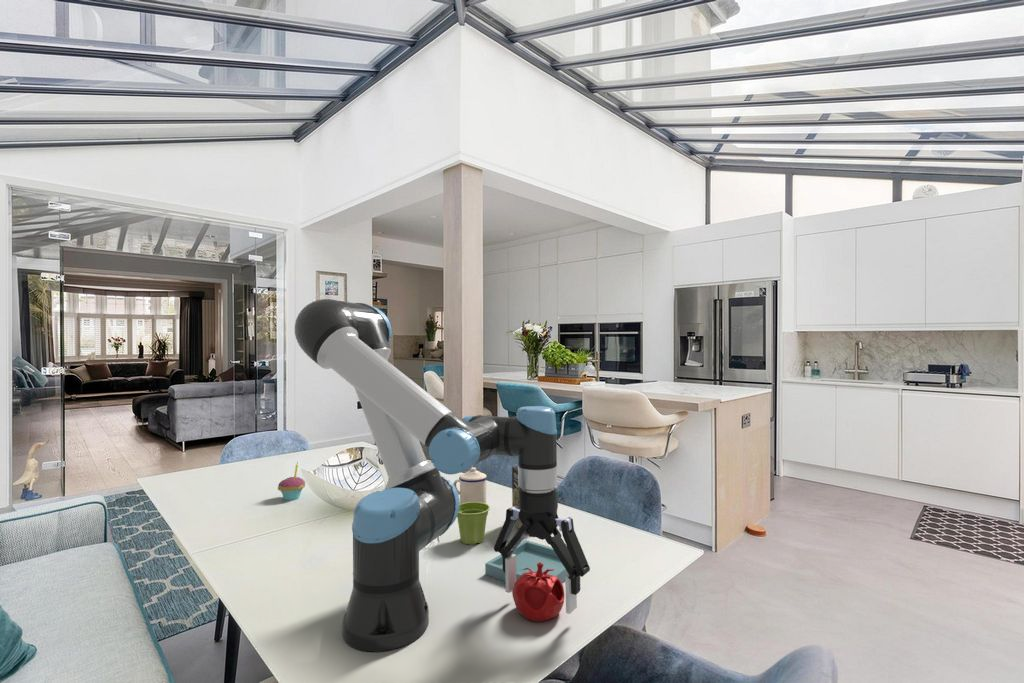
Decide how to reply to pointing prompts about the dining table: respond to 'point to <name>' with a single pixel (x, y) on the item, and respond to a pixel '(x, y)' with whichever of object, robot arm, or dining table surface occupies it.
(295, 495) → the cupcake
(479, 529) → the plant pot
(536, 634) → the dining table surface
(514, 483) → the coffee box
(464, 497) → the teacup with lid
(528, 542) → the dish
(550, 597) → the pomegranate
